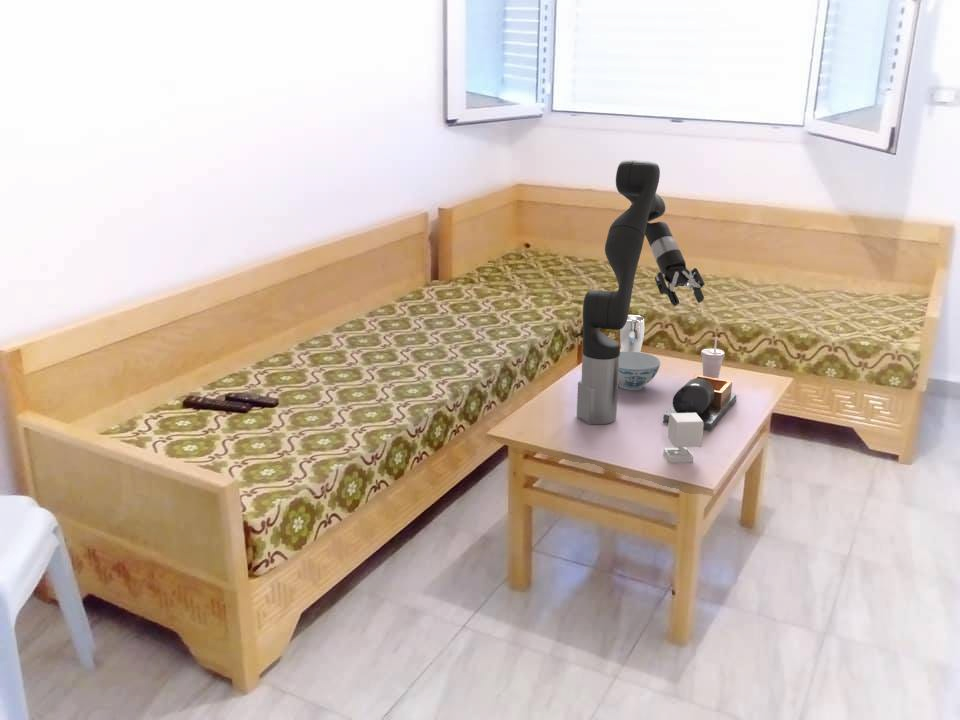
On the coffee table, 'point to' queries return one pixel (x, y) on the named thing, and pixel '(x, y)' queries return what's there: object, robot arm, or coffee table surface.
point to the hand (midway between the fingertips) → (689, 303)
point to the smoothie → (712, 361)
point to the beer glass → (632, 334)
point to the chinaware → (636, 369)
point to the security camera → (683, 436)
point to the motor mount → (703, 400)
